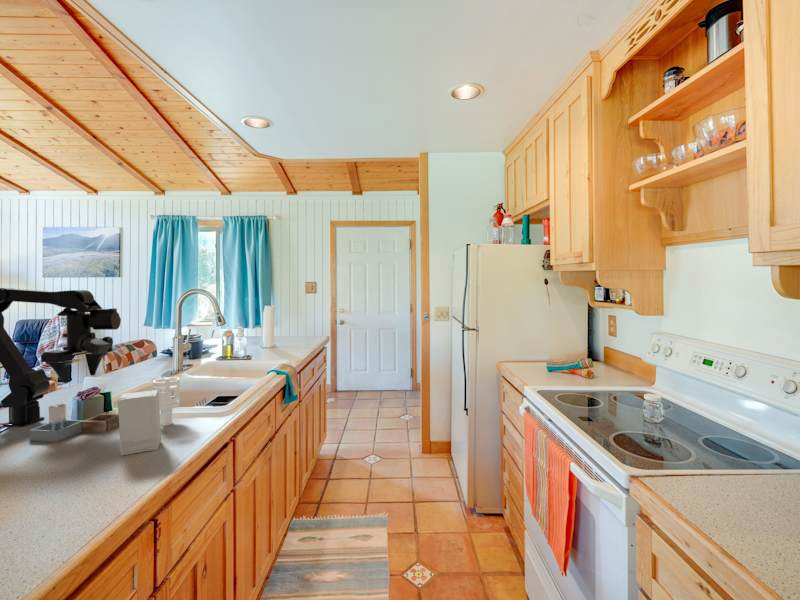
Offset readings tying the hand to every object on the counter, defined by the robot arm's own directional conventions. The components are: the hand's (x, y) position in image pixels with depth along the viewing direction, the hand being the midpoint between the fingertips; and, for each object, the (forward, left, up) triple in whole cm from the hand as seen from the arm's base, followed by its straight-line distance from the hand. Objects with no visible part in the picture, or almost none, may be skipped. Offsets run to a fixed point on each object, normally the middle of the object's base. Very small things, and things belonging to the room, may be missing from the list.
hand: (79, 378), depth 114 cm
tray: (+5, -12, -13) cm, 18 cm away
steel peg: (+5, -12, -12) cm, 18 cm away
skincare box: (+34, -18, -13) cm, 41 cm away
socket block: (+12, -6, -13) cm, 19 cm away
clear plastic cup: (+29, -1, -13) cm, 32 cm away
